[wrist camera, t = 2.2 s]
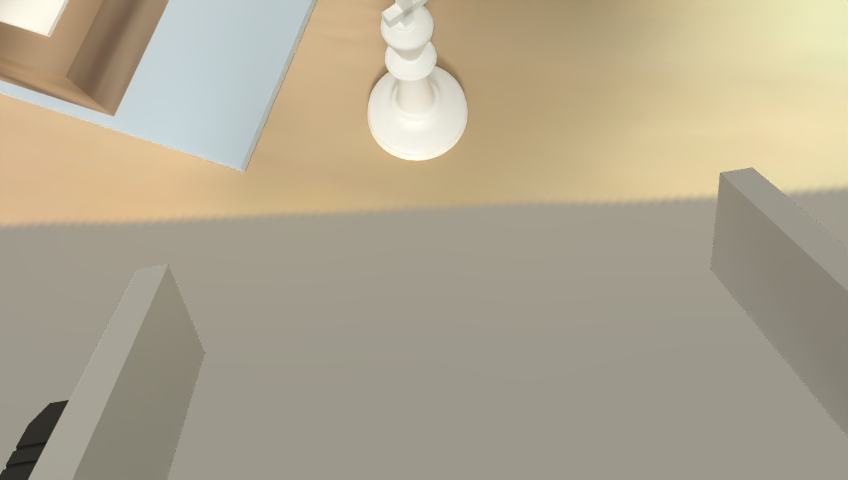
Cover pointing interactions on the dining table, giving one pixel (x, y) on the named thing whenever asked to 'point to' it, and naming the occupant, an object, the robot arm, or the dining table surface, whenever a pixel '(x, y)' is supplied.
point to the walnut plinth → (76, 47)
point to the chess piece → (414, 89)
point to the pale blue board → (203, 78)
